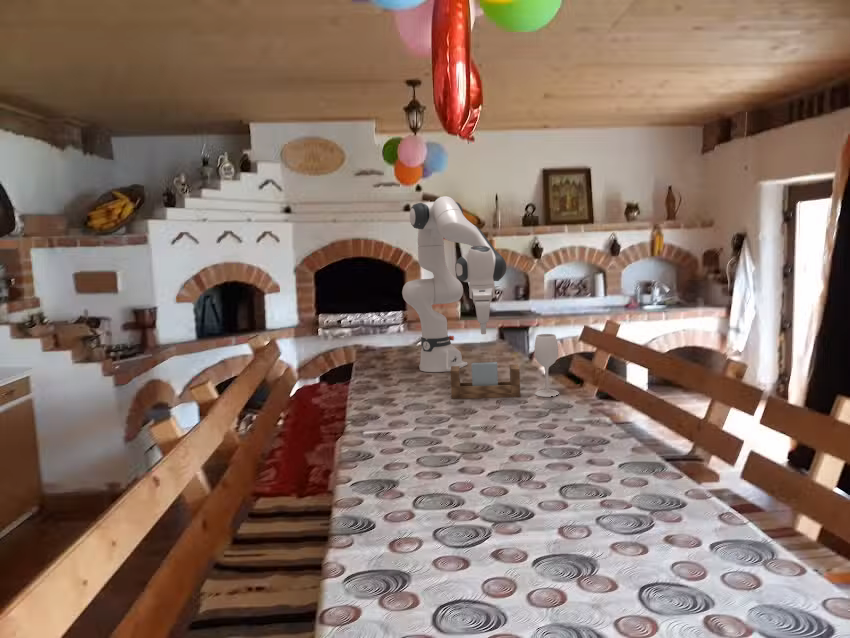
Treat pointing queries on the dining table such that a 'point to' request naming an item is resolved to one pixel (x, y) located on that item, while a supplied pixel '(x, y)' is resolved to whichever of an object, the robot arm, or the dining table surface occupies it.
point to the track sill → (494, 391)
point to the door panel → (484, 374)
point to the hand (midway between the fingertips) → (483, 331)
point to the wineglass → (546, 358)
